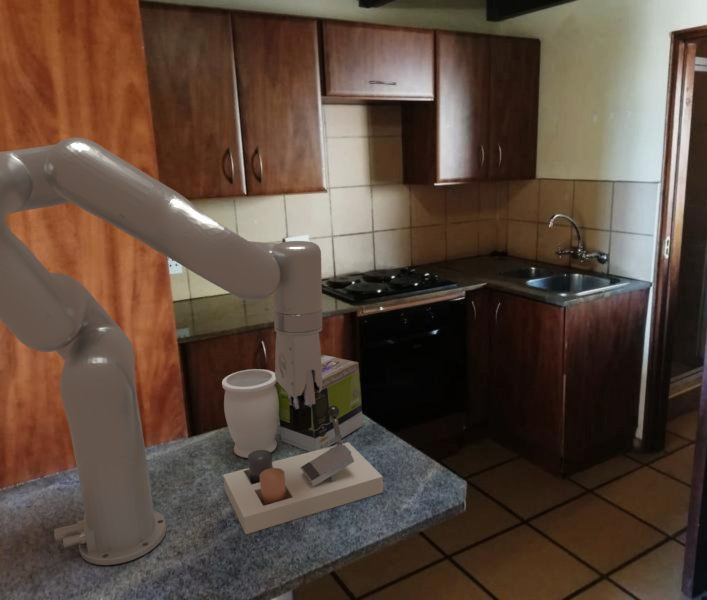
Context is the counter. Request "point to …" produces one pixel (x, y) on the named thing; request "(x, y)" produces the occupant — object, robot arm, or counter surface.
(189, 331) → the counter surface
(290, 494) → the panel
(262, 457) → the black button
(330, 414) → the toggle lever
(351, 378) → the tea box
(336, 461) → the rocker
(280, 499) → the terracotta button
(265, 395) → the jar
